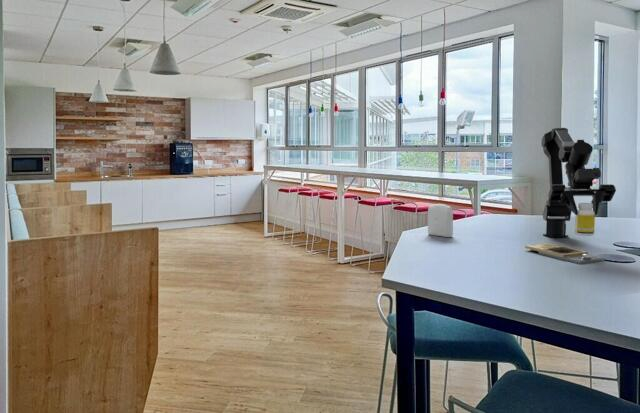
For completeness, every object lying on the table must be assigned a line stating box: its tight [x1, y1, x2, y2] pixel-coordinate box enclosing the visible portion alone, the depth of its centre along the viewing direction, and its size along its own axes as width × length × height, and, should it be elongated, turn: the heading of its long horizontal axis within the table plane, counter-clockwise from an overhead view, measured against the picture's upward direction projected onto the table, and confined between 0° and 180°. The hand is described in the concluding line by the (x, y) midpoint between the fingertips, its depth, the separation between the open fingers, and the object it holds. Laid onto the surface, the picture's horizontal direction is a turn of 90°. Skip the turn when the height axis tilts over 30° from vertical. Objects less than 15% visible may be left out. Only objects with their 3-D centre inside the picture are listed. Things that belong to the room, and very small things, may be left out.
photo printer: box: [427, 203, 454, 238], centre depth 205 cm, size 10×4×12 cm, turn 39°
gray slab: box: [524, 242, 606, 265], centre depth 167 cm, size 22×10×2 cm, turn 22°
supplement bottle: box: [574, 202, 596, 237], centre depth 165 cm, size 5×5×10 cm
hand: (586, 214), depth 164 cm, fingers closed on supplement bottle, 5 cm apart
